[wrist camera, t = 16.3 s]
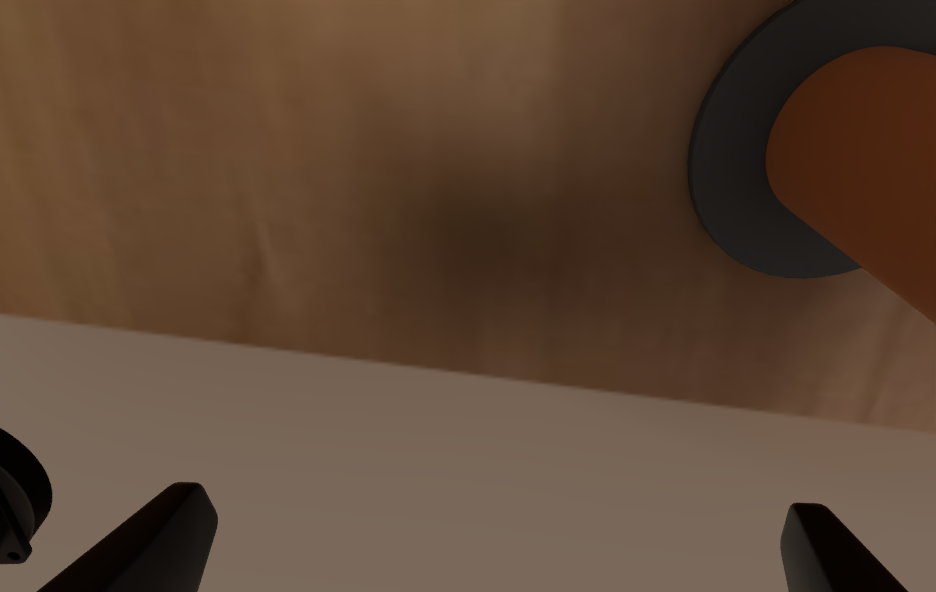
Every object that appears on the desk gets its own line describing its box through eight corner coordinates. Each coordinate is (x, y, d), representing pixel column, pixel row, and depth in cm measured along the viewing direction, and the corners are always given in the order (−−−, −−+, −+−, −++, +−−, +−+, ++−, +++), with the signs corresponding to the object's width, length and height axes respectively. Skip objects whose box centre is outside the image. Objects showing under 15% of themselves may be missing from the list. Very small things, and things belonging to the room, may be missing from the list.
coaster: (928, 271, 21) (936, 277, 21) (665, 274, 21) (669, 280, 20) (1051, -27, 17) (1064, -27, 16) (719, -27, 16) (725, -27, 16)
